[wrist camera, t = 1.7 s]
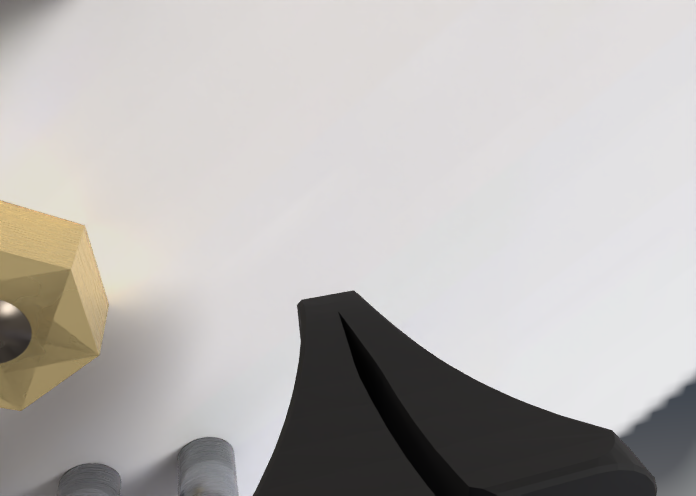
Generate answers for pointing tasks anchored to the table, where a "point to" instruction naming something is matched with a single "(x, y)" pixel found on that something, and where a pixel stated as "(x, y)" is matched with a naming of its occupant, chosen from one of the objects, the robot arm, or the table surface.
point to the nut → (45, 303)
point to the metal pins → (193, 473)
